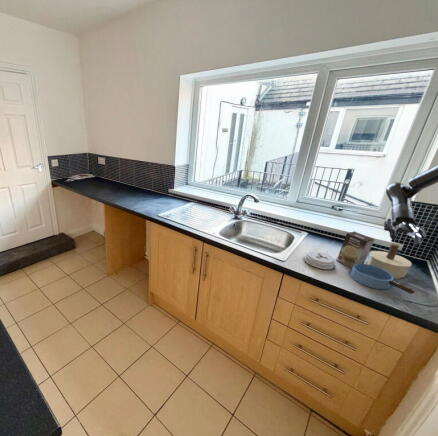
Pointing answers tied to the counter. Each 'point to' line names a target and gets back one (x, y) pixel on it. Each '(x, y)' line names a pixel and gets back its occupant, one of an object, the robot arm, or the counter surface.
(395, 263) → the pot lid
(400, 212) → the robot arm
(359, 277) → the pan
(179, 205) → the counter surface
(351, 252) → the coffee box
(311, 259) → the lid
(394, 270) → the pot
